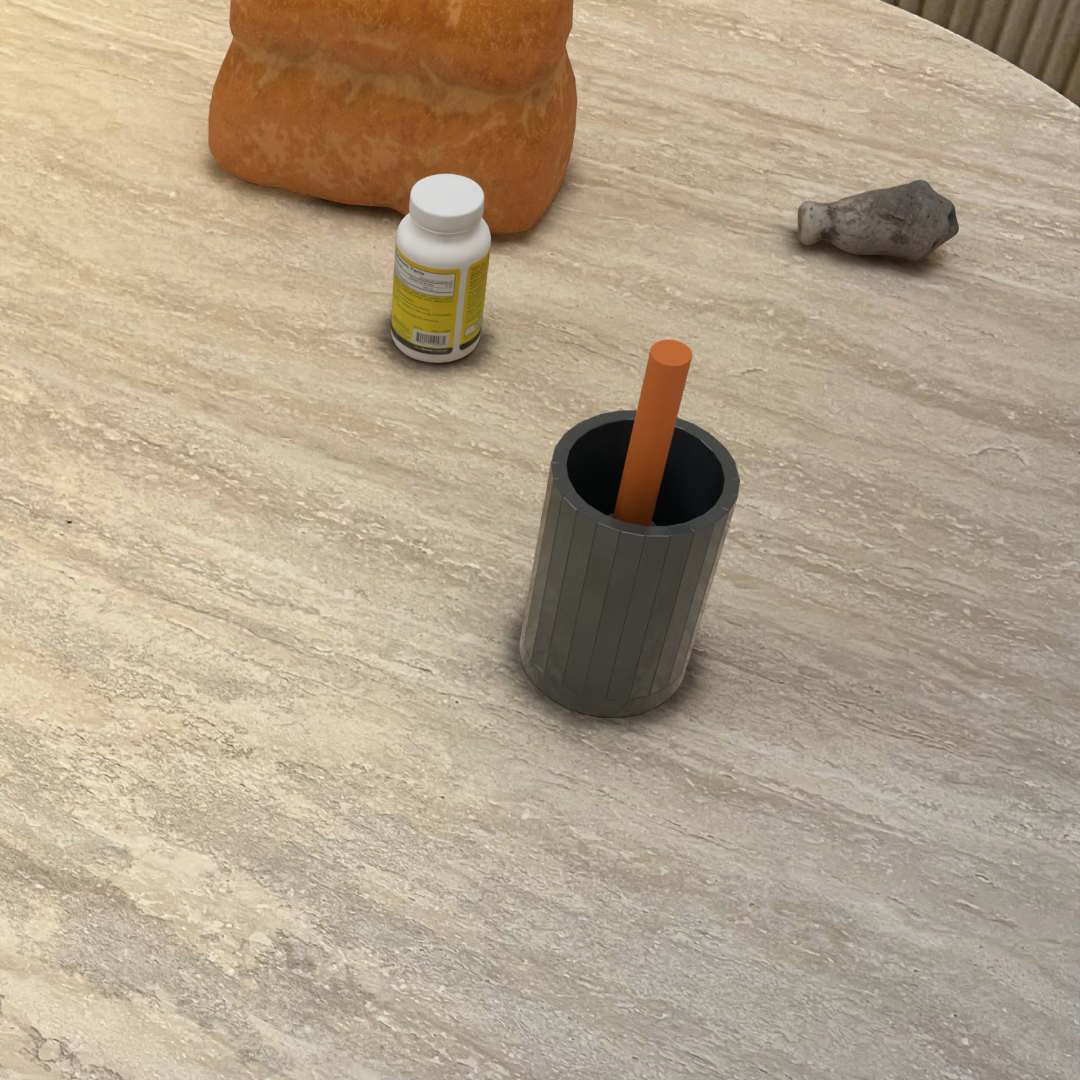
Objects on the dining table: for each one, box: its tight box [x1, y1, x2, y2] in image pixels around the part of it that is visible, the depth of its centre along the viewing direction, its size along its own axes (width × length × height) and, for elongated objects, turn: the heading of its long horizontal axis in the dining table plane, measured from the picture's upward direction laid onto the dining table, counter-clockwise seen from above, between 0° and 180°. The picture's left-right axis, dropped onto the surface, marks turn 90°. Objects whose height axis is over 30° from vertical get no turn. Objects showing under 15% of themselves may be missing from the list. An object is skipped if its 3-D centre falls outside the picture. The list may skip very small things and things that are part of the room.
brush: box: [608, 339, 693, 526], centre depth 89 cm, size 4×4×20 cm
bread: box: [207, 0, 578, 236], centre depth 122 cm, size 16×26×17 cm, turn 70°
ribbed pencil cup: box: [518, 409, 741, 718], centre depth 93 cm, size 10×10×14 cm
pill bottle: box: [390, 174, 492, 364], centre depth 111 cm, size 6×6×11 cm
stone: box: [797, 179, 960, 262], centre depth 120 cm, size 10×5×8 cm
